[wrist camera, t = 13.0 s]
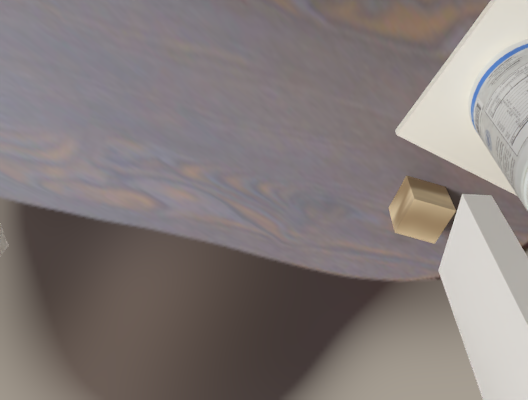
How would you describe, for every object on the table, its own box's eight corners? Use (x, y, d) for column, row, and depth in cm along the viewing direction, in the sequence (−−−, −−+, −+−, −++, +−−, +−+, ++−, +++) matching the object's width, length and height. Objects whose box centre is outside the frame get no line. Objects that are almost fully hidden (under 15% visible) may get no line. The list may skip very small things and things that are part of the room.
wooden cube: (406, 175, 46) (414, 198, 42) (446, 186, 46) (457, 211, 43) (388, 207, 48) (394, 232, 45) (426, 218, 48) (435, 244, 45)
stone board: (526, -49, 34) (530, -47, 34) (667, 42, 37) (674, 45, 37) (394, 130, 43) (396, 134, 42) (518, 193, 46) (521, 197, 45)
